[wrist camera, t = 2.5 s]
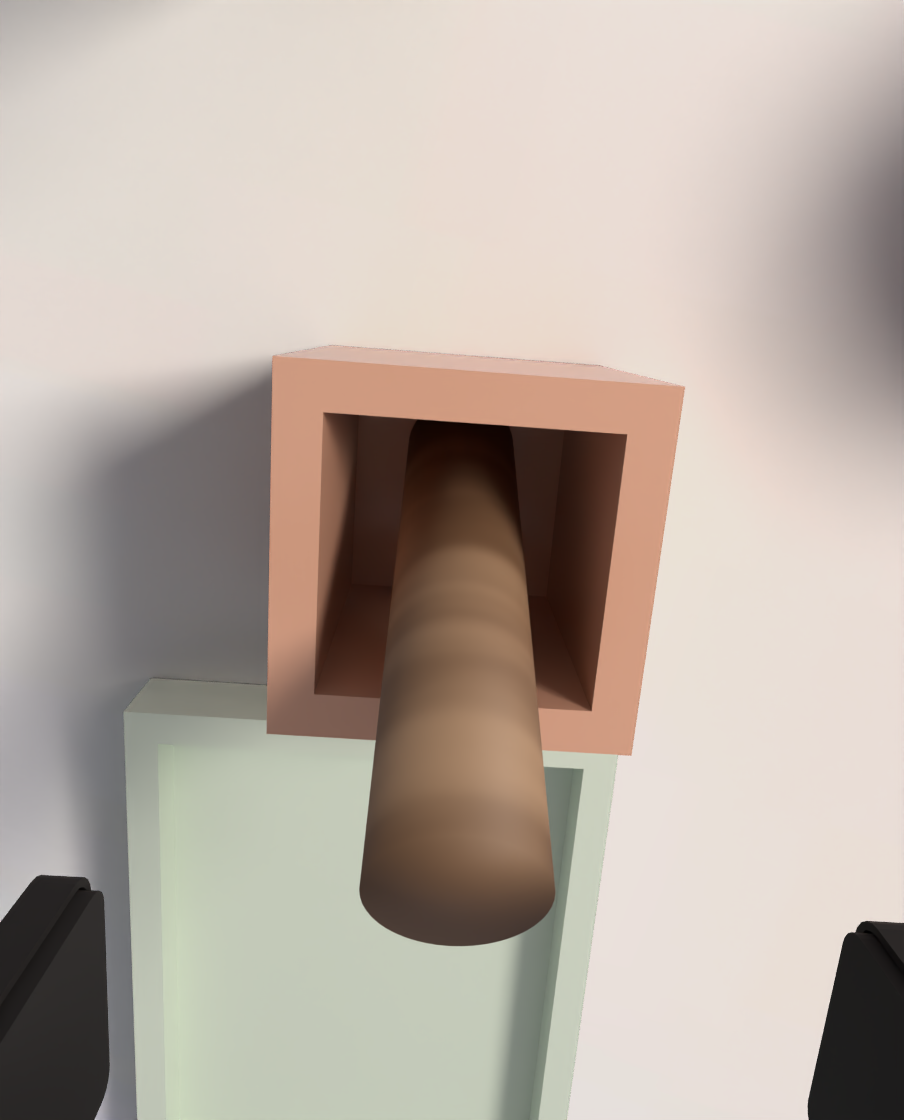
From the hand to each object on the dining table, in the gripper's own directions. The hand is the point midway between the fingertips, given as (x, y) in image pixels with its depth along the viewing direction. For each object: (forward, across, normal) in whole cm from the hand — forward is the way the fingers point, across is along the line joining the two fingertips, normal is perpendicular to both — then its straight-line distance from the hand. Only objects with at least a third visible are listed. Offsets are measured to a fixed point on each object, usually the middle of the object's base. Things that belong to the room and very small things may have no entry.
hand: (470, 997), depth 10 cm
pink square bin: (+17, 0, -4) cm, 17 cm away
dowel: (+16, 0, -3) cm, 16 cm away
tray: (+17, +2, +13) cm, 22 cm away
